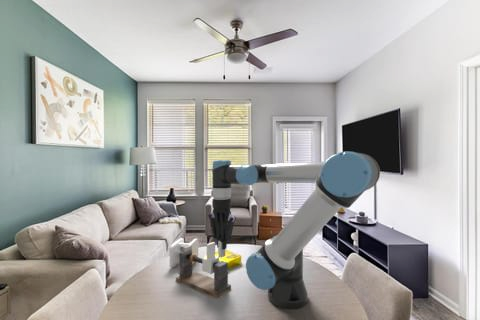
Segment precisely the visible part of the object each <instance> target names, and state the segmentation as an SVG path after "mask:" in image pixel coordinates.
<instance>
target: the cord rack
mask: <svg viewBox="0 0 480 320" xmlns="http://www.w3.org/2000/svg"><path fill="white" fill-rule="evenodd" d="M192 262H195V263H199V264H201V265H202V257H199V256H198V257H197V256H196V255H194V254H193V255H192V246H191V245H188V244H184V245H182V246H180V253H179V263H178V265H179V274H178V276H176V277H175V282H177V283H180V284H182V285H184V286H187V287H189V288H192V289H194V290H195V291H199V292H201V293H203V294H205V295H208V296H210V297H213V298H215V299H217V298H219V297H220V296H222V295H224V294H225V293H227V292H228V291H230V290H231V288H232V285H231V284H230V283H229V275H228V274H229V273H228V272H229V270H228V262H225V261H221V262H219V263H213V268H214V273H213V277H210V276H208V275H205V274H202V273H200V272H197V271H194V270H193V265H192Z"/></svg>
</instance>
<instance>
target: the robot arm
mask: <svg viewBox="0 0 480 320" xmlns="http://www.w3.org/2000/svg"><path fill="white" fill-rule="evenodd" d="M211 173H212V196H211V197H212V200H211V201H212V205H211V206H212V208H213V209H212V212H210V213H208V218H209V220H210V227H211V233H212V238H213V239H216V247H217V251H218V257H219V258H222V257H224V256H225V250H227V248H228V247H227V243H228V241H230V240H231V239H232V235H233V231H234V230H233V229H234V224H235V221H236V220H237V217H236V216H233V215H232V211H231V208H232V198H231V197H232V185H236V186H237V185H240V186H244V187H245V186H253V185H255V184H262V183H264V184H265V183H267V184H268V183H271V184H272V183H273V184H274V183H276V184H278V183H280V184H287V183H288V184H315V189H314V191H313V192H312V193H311V194H310V195H309V196H308V197H307V198H306V200H305V201H304V203H302V204H301V206H300V207H299V209H298V210H297V211H296V212H295V213H294V214H293V215H292V217H290V219H289V221H288V222H287V223H285V225H284V226H283V228H282V229H281V230H280V231H279V233H278V234H277V235H275V236H273V237H272V238H269V239H267V240H266V241H265V242H264V243H263V244H262V246H261V247H260V248H259V249H258V250H257V251H256V252H254V253H252V254H250V255H249V256H248V258H247V259H246V262H245V269H246V270H245V271H246V274H247V277H248V279H249V281H250V282H251V283H252V285H253V286H255V288H257V289H258V290H261V291H267V297H268V298H267V299H268V300H269V302H270V303H271V304H273V305H274V306H276V307H280V308H283V309H288V310H290V309H299V308H302V307H304V306H305V305H307V303H308V301H309V299H308V298H309V295H308V290H307V287H306V284H305V280H304V274H303V273H304V269H303V266H304V264H303V263H304V259H303V258H304V257H303V256H304V255H303V253H304V249H305V248H306V246H307V245H308V244H309V243H310V242H311V241H312V240H313V239H314V238H315V236H316V235H317V234H318V233H319V232H320V231H321V230H322V229H323V228H324V226H326V225H327V224H328V222H329V221H331V220H332V218H333V217H334V216H335V215H336V214H337V213H338V212H339V210H341V209H349V208H350V207H351V206H352V205H353V204H354V203H355V202H356V201H357V200H358V199H359V198H360V197H361V196H362V195H363V194H364V193H365V192H366V191H368V190H370V189H372V188H374V187H375V185H376V184H377V183H378V181H379V179H380V176H381V169H380V166H379V164H378V162H377V161H376V159H374V158H373V157H372V156H370V155H368V154H366V153H364V152H363V153H362V152H355V151H349V150H348V151H347V150H346V151H340V152H338V153H335V154H333V155H331V156H330V157H328V158H326V160H325V161H312V162H311V161H310V162H309V161H308V162H288V163H286V162H285V163H273V164H272V163H270V164H268V163H267V164H266V163H265V164H232V161H231V160H229V159H228V160H227V159H221V160H219V159H215V160H213V161H212V169H211Z"/></svg>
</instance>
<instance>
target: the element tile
mask: <svg viewBox="0 0 480 320" xmlns="http://www.w3.org/2000/svg"><path fill="white" fill-rule="evenodd" d="M215 256H217V257H218V250H216V251H215ZM204 257H207V254H206V255H204V256H203V258H204ZM221 261H225V262H228V271H229V270H232V269H233V268H236V267H238V266H240V265H242V255H241V254H238V253H235V252H233V251H229V250H228V249H225V256H224V257H222V258H220V262H221Z"/></svg>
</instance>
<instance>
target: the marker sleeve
mask: <svg viewBox="0 0 480 320" xmlns="http://www.w3.org/2000/svg"><path fill="white" fill-rule="evenodd" d="M215 252H216V242H215V241H212V242H210V243H207V244H206V255H207V257H204V256H203V258H202V257H201V258H202V264H201V265H202V267H201V271H202V272H205V273H207V274H210V275H212V274H214V268H213V263H219V262H220V258H219V257H217V256H215Z"/></svg>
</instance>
